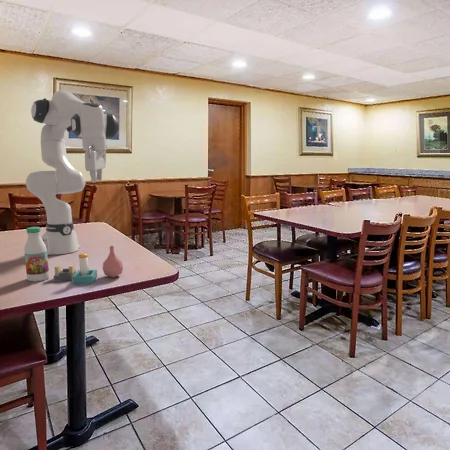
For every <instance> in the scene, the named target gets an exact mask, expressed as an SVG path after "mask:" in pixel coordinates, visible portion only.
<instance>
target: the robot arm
mask: <svg viewBox="0 0 450 450" xmlns="http://www.w3.org/2000/svg"><path fill="white" fill-rule="evenodd" d="M30 113H31V118H32V119H33V121H35V122H37V123H39V124H44V125H43V126H42V127H41V131H40V150H41V151H40V152H41V160H42V162H43V163H44V164H45V165H47V166H48V167H51V168H54V169H55V170H39V171H33V172H31V173H29V174H28V175H27V176H26V180H25V186H26V188H27V190H28V191H29V193H30V194H33V195H34V196H35V197H37V198H38V199H39V200H40V201H41V202H42V204H43V207H44V210H45V213H46V221H47V223H46V224H45V231H44V233H43V234H42V235H41V238H42V240H43V242H44V243H45V245H46V249H47V256H48V255H50V256H51V255H65V254H71V253H75V252H77V251H79V249H81V245H80V244H79V242H78V235H77V232H76V231H75V230H74V227H75V225H74V221H73V217H72V216H73V215H72V208H71V205H70V204H69V203H68V202H65V201H64V200H61V199H58V198H57V196H56V195H61V194H63V195H65V194H76V193H79V192H82V191H83V190H84V188H85V186H86V178H85V176H84V174H83V173H82V172H81V171H79V170H77V169H76V168H75V167H74V166H73V165H72V164H71V162H70V161H69V159H68V155H67V148H66V146H67V145H66V141H65V140H66V139H65V133H66V131H67V132H68V133H71V132H72V133H73V134H74V135H75V136H77V137H79V138H81V143H82V144H81V145H82V150H83V151H85V152H84V169H85V171H86V172H89V176H90V181H91V183H92V184H93V183H97V182H98V181H102V179H103V177H102V176H103V169H105V168H106V162H107V161H106V160H107V159H106V158H107V156H106V155H107V154H106V152H107V150H108V145H107V139H113V138H114V137H116V135H117V134H118V133H119V129H120V125H119V121H118V119H117V118H116V117H115V115H114V114H113V113H106V112H104V108H103V106H102V105H101V104H99V103H95V102H85V101H83V100H82V99H80V98H78V97H77V96H76V95H74V93H71V92H69V91H67V90H63V89H61V90H57V91H55V92H54V93H53V95H52V96H51V99H47V98H46V97H45V98H43V99H37V100H35V101H33V103H32V105H31V107H30Z"/></svg>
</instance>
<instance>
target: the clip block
mask: <svg viewBox="0 0 450 450" xmlns="http://www.w3.org/2000/svg"><path fill="white" fill-rule="evenodd" d="M75 269H76V268H75V264H73V263H72V264H70V265H69V266H68V268H62V269H61V264H56V265H55V266H54V275H53V281H54V282H66V281H67V282H69V281H71V282H73V276H74V275H75V273H76V272H77V270H75Z"/></svg>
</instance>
